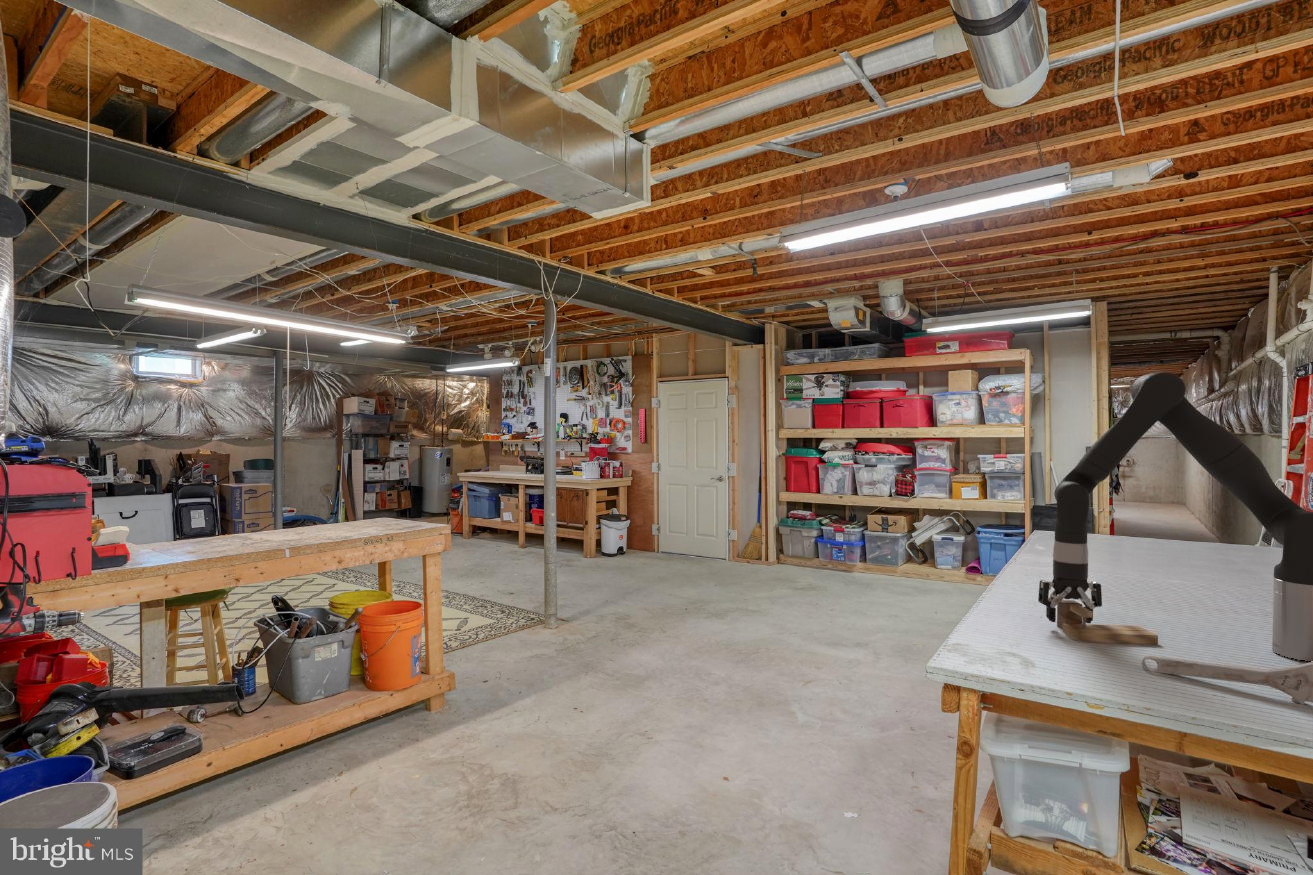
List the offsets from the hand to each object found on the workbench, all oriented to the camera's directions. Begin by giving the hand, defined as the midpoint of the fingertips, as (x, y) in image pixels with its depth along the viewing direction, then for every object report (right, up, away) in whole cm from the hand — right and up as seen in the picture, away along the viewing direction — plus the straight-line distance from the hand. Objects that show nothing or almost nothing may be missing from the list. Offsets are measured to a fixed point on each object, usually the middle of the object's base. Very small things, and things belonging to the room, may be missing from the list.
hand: (1069, 621), depth 161 cm
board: (+5, -2, -7) cm, 9 cm away
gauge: (0, -2, -3) cm, 3 cm away
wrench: (+9, -3, -36) cm, 37 cm away
